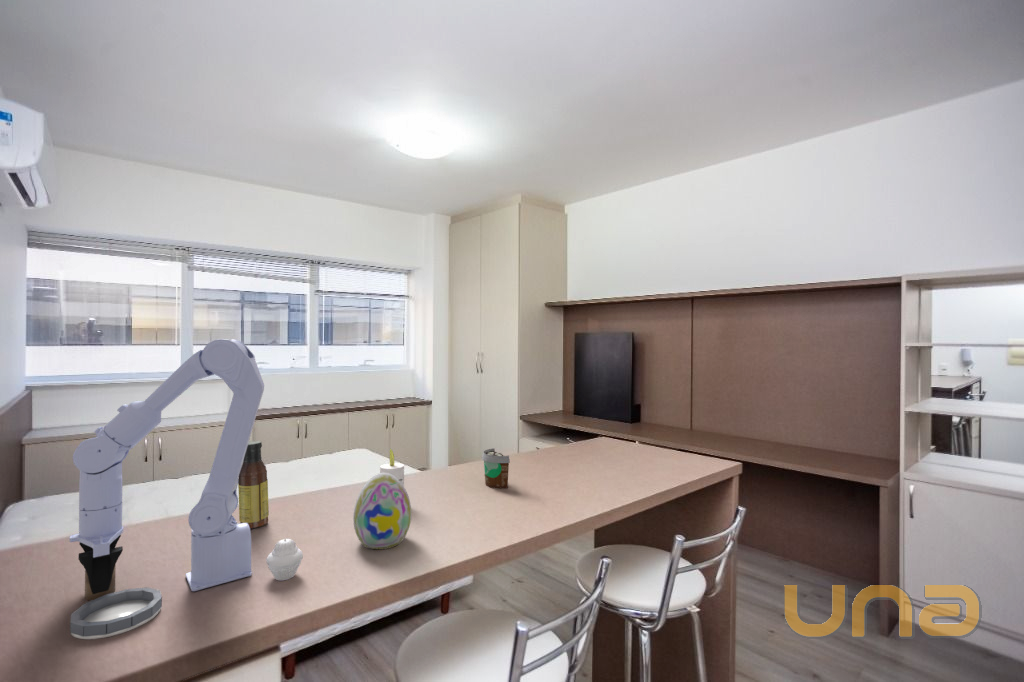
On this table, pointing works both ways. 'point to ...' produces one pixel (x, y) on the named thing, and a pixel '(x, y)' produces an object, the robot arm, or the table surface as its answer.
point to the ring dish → (115, 613)
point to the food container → (495, 469)
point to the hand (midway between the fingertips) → (100, 584)
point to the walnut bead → (94, 596)
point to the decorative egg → (382, 512)
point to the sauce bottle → (253, 488)
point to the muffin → (284, 559)
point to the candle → (393, 468)
